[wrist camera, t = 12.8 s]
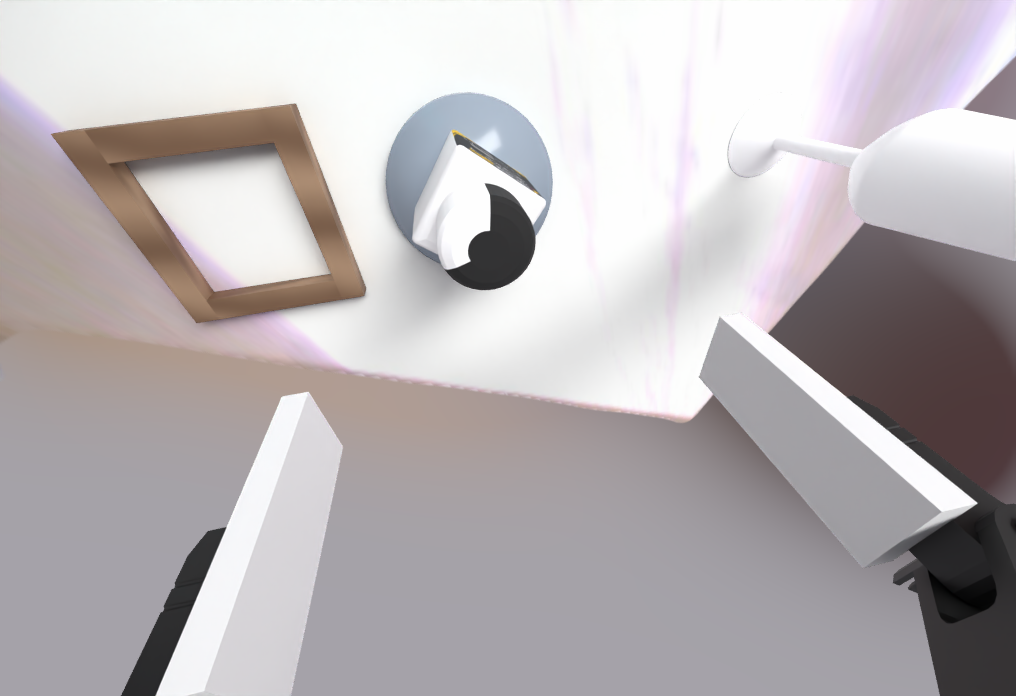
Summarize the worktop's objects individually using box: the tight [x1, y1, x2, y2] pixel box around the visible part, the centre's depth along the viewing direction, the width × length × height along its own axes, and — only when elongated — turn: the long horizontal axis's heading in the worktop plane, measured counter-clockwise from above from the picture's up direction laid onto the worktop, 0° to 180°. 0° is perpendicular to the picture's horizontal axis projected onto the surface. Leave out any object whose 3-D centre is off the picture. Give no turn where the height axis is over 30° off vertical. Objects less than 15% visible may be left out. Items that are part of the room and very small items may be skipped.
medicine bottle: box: [412, 130, 546, 290], centre depth 26 cm, size 7×7×12 cm
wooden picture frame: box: [51, 104, 366, 323], centre depth 29 cm, size 15×15×2 cm
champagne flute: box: [728, 93, 1016, 261], centre depth 24 cm, size 7×7×24 cm
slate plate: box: [386, 92, 553, 263], centre depth 31 cm, size 14×14×1 cm
